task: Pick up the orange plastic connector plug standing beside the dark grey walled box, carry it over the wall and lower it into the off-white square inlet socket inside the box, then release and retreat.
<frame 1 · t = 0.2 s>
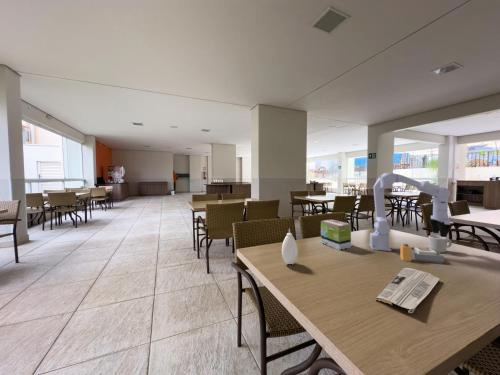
hand: (439, 234, 111), 10 cm above the table, fingers open, 7 cm apart
connector: (405, 259, 105), on the table
sauce bottle: (289, 264, 103), on the table
newspaper: (410, 292, 77), on the table
cup: (440, 251, 115), on the table
walled box: (424, 258, 106), on the table
tea box: (335, 245, 128), on the table
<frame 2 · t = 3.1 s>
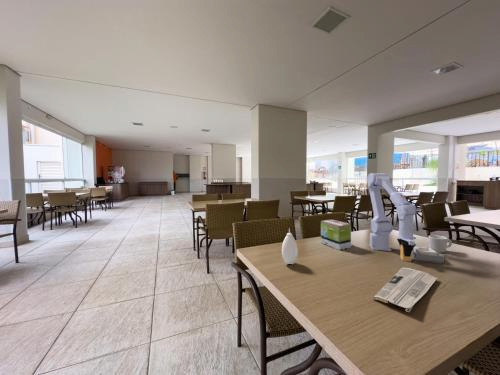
hand: (405, 254, 105), 2 cm above the table, fingers closed on connector, 3 cm apart
connector: (405, 259, 105), on the table, touching gripper
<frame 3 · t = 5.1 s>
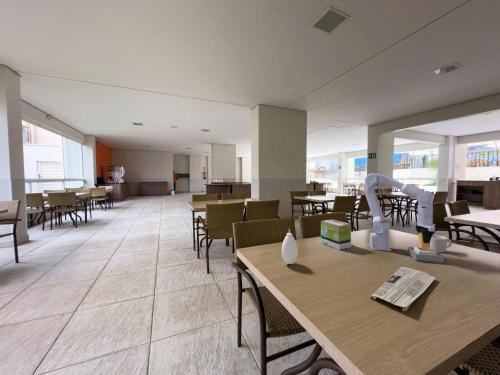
hand: (424, 241, 106), 8 cm above the table, fingers closed on connector, 3 cm apart
connector: (424, 247, 106), point 6 cm above the table, touching gripper
when the fingers open (5 cm above the table, at t = 6.9 s): connector drops 1 cm, resting on walled box.
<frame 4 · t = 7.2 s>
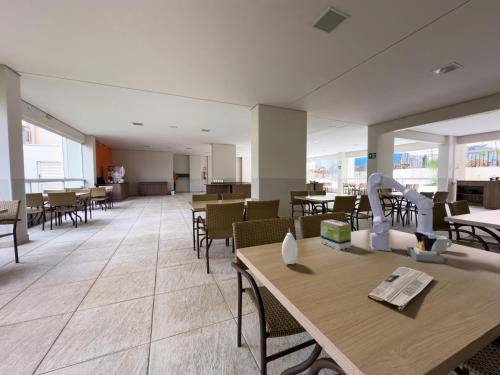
hand: (424, 248, 106), 5 cm above the table, fingers open, 6 cm apart
connector: (424, 256, 106), point 1 cm above the table, touching walled box
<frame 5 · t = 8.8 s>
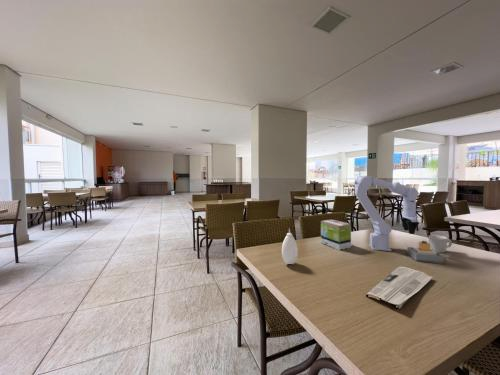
hand: (409, 232, 119), 10 cm above the table, fingers open, 7 cm apart
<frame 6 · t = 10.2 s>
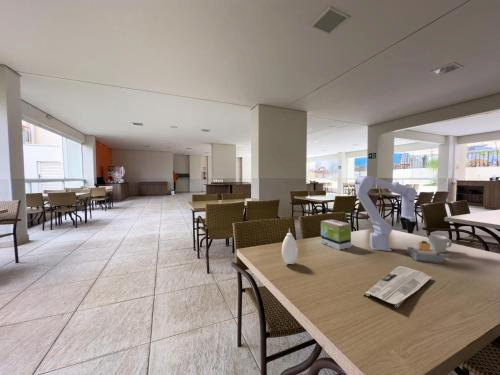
hand: (407, 231, 120), 10 cm above the table, fingers open, 7 cm apart
at the end: connector 0.2 cm off-centre on the walled box, point 0.8 cm above the walled box's base; connector tilted 0°; the gripper is holding nothing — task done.
